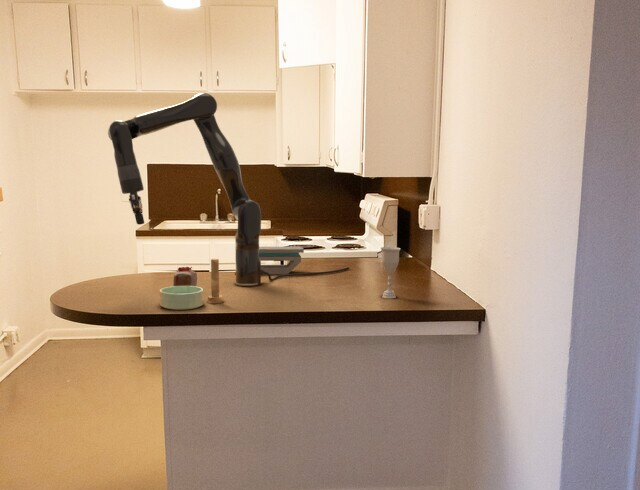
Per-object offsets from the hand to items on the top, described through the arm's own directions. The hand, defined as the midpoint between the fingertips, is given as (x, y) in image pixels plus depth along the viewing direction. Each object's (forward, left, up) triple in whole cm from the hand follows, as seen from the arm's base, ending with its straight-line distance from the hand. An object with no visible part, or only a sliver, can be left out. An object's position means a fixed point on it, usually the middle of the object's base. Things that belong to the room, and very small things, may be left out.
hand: (140, 224), depth 235 cm
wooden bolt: (-22, +21, -25) cm, 39 cm away
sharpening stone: (-59, -28, -26) cm, 70 cm away
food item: (-15, +3, -26) cm, 30 cm away
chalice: (-84, +32, -26) cm, 93 cm away
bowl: (-10, +23, -25) cm, 36 cm away
